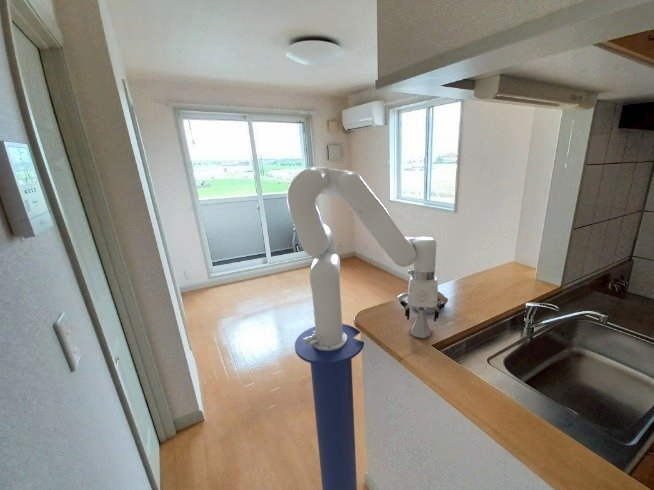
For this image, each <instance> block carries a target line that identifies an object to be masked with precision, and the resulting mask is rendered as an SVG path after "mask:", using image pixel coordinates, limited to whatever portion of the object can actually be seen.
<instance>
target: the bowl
mask: <svg viewBox="0 0 654 490" xmlns="http://www.w3.org/2000/svg"><path fill="white" fill-rule="evenodd" d="M438 293H439V294H440V295H442V296H444V297H446V296H445V295H444V294H443V293H442V292H440V291H438ZM437 303H438V305H439V304H440V303H442V300H440V299H438V301H437ZM411 307H412V308H413V310H414V311H416V312H418V311H417V308H418V307H414V306H411ZM425 308H426V311H425V315H434V310H435V308H434V307H432V308H430V307H425ZM444 309H445V306H444V307H443V308H442V309H441V310H440V311H439V313H441V312H442V311H443V310H444Z"/></svg>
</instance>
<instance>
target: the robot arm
mask: <svg viewBox="0 0 654 490" xmlns="http://www.w3.org/2000/svg"><path fill="white" fill-rule="evenodd" d="M320 195H327V196H335V197H340V198H341V200H342V201H343V202H344V203H345V204H346V205H347V207H348V208H349V209H350V210H351V211H352V212H353V214H355V216H356V217H357V219H358V221H360V222H361V224H362V225H363V226H364V227H365V229H366V231H368V233H369V234H370V235H371V236H372V237H373V238H374V239H375V241H376V242H377V243H378V245H379V246H380V247H381V249H382V250H383V251H384V253H386V255H387V256H388V257H389V259H391V261H392V262H393V264H395V265H397V266H399V267H402V268H406V267H410V266H411V265H412V267H411V269H408V270H407V274H408V275H410V277H409V280H408V287H407V291H406V292H403V293H400V294H398V295H397V299H398V300H397V301H398V302H399V303H400V305H401V306H402V307H403V308H404V310H405V311H404V312H405V313H404V314H405V315H404V316H405V317H406V320H407V321H409V320H410V316H411V315H410V314H411V310H410V309H411V307H412V306H414V307H430V308H432V307H434V308H435V310H434V314H433V322H434V323H435V322H437V319H439V316H440V315H439V314H440V312H439V311H440V310H441V309H442V308H443V307H444V308H445V306H446V305H447V304H448V302H449V298H448V297H446V296H445V295H444V296H445V297H444V296H442V295H440V294H439V293H438V292H439V286H438V279H437V277H436V259H437V241H436V239H435V238H433V237H429V236H428V237H427V236H420V237H409V236H405V235H404V234H403V233H402V231H401V230H400V229H399V227H398V226H397V225H396V223H395V222H394V220H393V219H392V217H391V215H390V213H389V211H388V210H387V208H386V207H385V206H384V204H382V203H381V201H380V200H379V198H378V197H377V196H376V195H375V193H374V192H373V191H372V190H371V188H370V187H369V186H368V184H367V183H366V181H364V180H363V178H362V176H361V175H360V174H359V173H357V172H356V171H352V170H345V169H344V170H341V169H335V168H329V167H323V166H317V165H316V166H315V165H314V166H313V165H312V166H307V167H305V168H303V169H301V170H300V171H299V172H298V173H297V174H296V175H295V176H294V177H293V178H292V180H291V181H290V183H289V185H288V187H287V190H286V203H287V208H288V211H289V213H290V216H291V219H292V222H293V226H294V229H295V231H296V233H297V237H298V240H299V243H300V246H301V248H302V250H303V251H304V253H305V254H307V255H308V256H311V257H310V258H311V259H312V264H311V267H310V269H309V282H310V287H311V295H312V305H313V306H312V307H313V316H314V318H313V319H314V327H315V331H313V334H312V335H311V336H310V337H306V338H303V342H304V344H306V343H310V345H313V346H314V347H315V348H317V349H319V350H322V351H332V350H337V349H339V348H341V347H343V346H344V345H345V344H346V342H347V335H346V334H345V333H344V332H342V324H343V317H342V316H343V314H342V300H341V299H342V296H341V295H342V294H341V283H340V281H341V280H340V273H341V259H340V255H339V252H338V248H337V246H336V241H335V240H334V237H333V234H332V231H331V229H330V227H329V226H328V225H327V224H325V222H323V220H322V218H321V214H320V211H319V208H318V206H317V198H318V196H320ZM405 298H407V301H405V300H404V299H405ZM438 299H440V300H442V303H440V304H439V305H438V303H437V301H438Z"/></svg>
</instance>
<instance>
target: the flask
mask: <svg viewBox="0 0 654 490" xmlns="http://www.w3.org/2000/svg"><path fill="white" fill-rule="evenodd" d="M425 311H426V308H425V307H418V308H417V311H416V312H417V316H416V319H415V321H414V323H413V326H412V328H411V330H410V335H411V336H413V337H415V338H420V339H426V338H428V337H430V336H431V333H432V332H431V328H430V325H429V322H428V319H427V316H426V315H427V314H425Z"/></svg>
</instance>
